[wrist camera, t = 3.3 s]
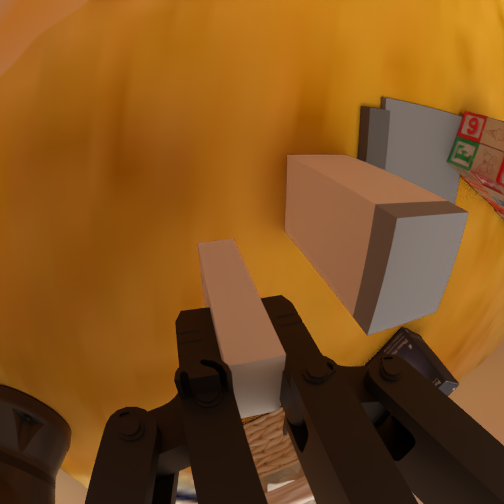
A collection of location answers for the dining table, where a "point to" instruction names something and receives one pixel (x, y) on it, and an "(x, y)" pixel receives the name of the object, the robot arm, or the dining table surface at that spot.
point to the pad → (411, 144)
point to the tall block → (372, 237)
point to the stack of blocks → (481, 157)
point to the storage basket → (277, 461)
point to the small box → (420, 359)
